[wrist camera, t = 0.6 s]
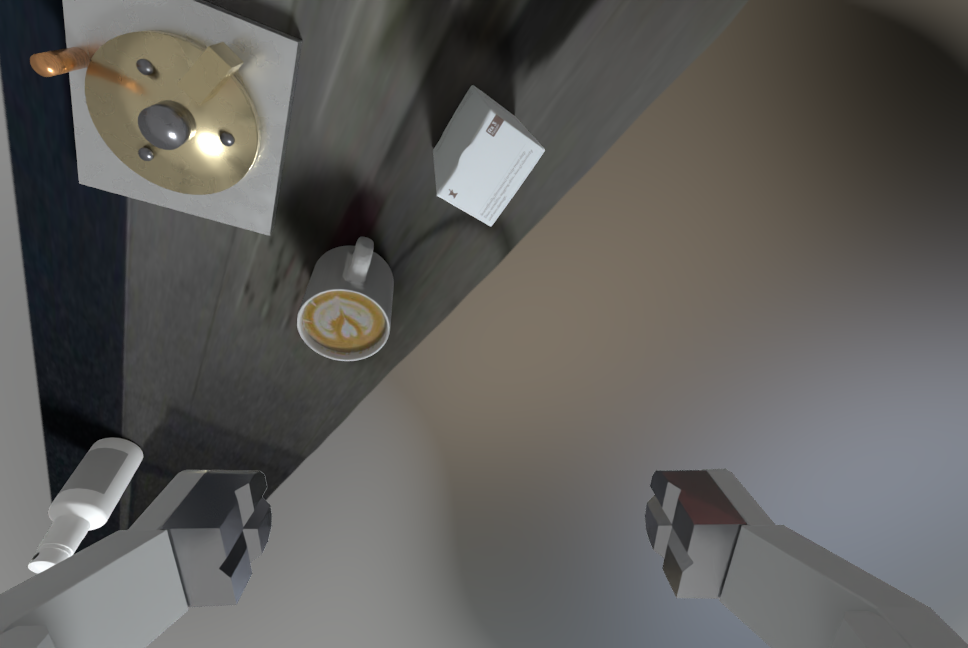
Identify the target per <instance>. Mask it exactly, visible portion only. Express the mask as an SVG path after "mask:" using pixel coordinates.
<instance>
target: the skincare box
mask: <svg viewBox="0 0 968 648" xmlns="http://www.w3.org/2000/svg"><path fill="white" fill-rule="evenodd" d="M544 151H545V149H544V148H543V146H542V145H541V144H540V143H539V142H538V141H537V139H536V138H535V137H534V136H532V134H531V133H530V132H529V131H528V130H527V129H526V128H525V127H524V126H523V124H522V123H521V122H520V121H519V120H518V119H517V118H516V117H515V116H514V115H513V114H511V113H510V112H509V111H507V110H506V109H505V108H503V107H502V106H501V105H499V104H498V103H497V102H495V101H494V100H493V99H491V98H490V97H489V96H487V95H486V94H485V93H483V92H482V91H481V90H479V89H478V88H477V87H475V86H474V85H472V86H471V87H470V88H469V90H468V91H467V93H466V95H465V96H464V98H463V100H462V101H461V103H460V105H459V106H458V108H457V110H456V111H455V113H454V115H453V116H452V118H451V120H450V122H449V123H448V125H447V127H446V128H445V130H444V132H443V134H442V136H441V138H440V140H439V142H438V143H437V145H436V146H435V148H434V149H433V157H434V167H435V178H436V190H437V196H438V197H440V198H442V199H444V200H446V201H447V202H449V203H450V204H452V205H454V206H456V207H457V208H459V209H461V210H463V211H464V212H466V213H468V214H470V215H471V216H473V217H475V218H477V219H478V220H480V221H482V222H484V223H485V224H487V225H489V226H492V225H493V224H494V222H495V221H496V220H497V218H498V217H499V215H500V214H501V213H502V211H503V210H504V209H505V207H506V206H507V204H508V203H509V202H510V200H511V199H512V197H513V196H514V195H515V193H516V192H517V190H518V189H519V188H520V186H521V185H522V183H523V182H524V180H525V179H526V178H527V176H528V175H529V173H530V172H531V170H532V169H533V168H534V166H535V165H536V163H537V162H538V160H539V159H540V157H541V156H542V154H543V153H544Z"/></svg>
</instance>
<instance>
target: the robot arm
mask: <svg viewBox="0 0 968 648" xmlns="http://www.w3.org/2000/svg"><path fill="white" fill-rule="evenodd" d="M650 487H651V489H652V490H653V492H654V494H655V495H654V497H652V498H651V499H650V500H649V501H648V502H647V505H646V511H645V523H646V531H647V535H648V538H649V541H650V543H651V546H652V548H653V550H654V551H655V552H657V553H658V554H660V555H661V556H662V557H663V558H664V563H663V567H662V569H663V571H664V573H665V575H666V577H667V579H668V581H669V584H670V586H671V588H672V590H673V592H674V594H675V596H676V598H711V599H712V598H713V599H715V598H716V599H720V602H721V603H722V604H723V605H725V606H726V607H727V608H728V609H729V610H730V611H731V612H732V613H733V614H735V615H736V616H737V617H738V618H739V619H740V620H741V621H742V622H743V623H744V624H746V625H747V626H748V627H749V628H750V629H751V630H752V631H753V632H754V633H755V634H757V635H758V636H759V637H760V638H761V639H762V640H763V641H764V642H765V643H766V644H768V645H769V646H770V647H771V648H968V644H967V643H966V642H964V640H963V639H962V638H961V637H960V636H959V635H958V634H957V633H956V632H954V631H953V630H952V629H951V628H950V627H949V626H948V625H947V624H946V623H945V622H944V621H943V620H942V619H941V618H940V617H939V616H938V615H937V614H936V613H935V612H934V611H933V610H932V609H931V608H930V607H928V606H926V605H924V604H922V603H921V602H919V601H917V600H915V599H914V598H912V597H910V596H908V595H907V594H905V593H903V592H901V591H899V590H898V589H896V588H894V587H892V586H891V585H889V584H887V583H885V582H883V581H882V580H880V579H878V578H876V577H874V576H873V575H871V574H869V573H867V572H866V571H864V570H862V569H860V568H858V567H857V566H855V565H853V564H851V563H850V562H848V561H846V560H844V559H843V558H841V557H839V556H837V555H835V554H833V553H832V552H830V551H828V550H827V549H825V548H823V547H821V546H819V545H818V544H816V543H814V542H812V541H811V540H809V539H807V538H805V537H803V536H802V535H800V534H798V533H796V532H795V531H793V530H791V529H789V528H787V527H786V526H784V525H775V524H774V522H773V521H772V520H771V519H770V518H769V517H768V515H767V514H766V513H765V512H764V511H763V509H762V508H761V507H760V506H759V505H758V504H757V502H756V501H755V500H754V499H753V497H752V496H751V495H750V494H749V493H748V491H747V490H746V489H745V488H744V487H743V486H742V484H741V483H740V482H739V481H738V479H737V478H736V477H735V476H734V475H733V473H732V472H730V471H728V470H727V469H703V470H673V471H672V470H666V471H665V470H659V471H655V472H654V474H653V476H652V480H651V484H650ZM266 489H267V483H266V478H265V474H264V473H262V472H261V471H242V470H185V471H182V472H180V473H178V474H177V475H176V476H175V477H174V479H173V480H172V481H171V482H170V483H169V484H168V485H167V486H166V488H165V489H164V490H163V491H162V492H161V493H160V494H159V496H158V497H157V498H156V499H155V500H154V501H153V502H152V503H151V505H150V506H149V507H148V508H147V509H146V510H145V511H144V512H143V514H142V515H141V516H140V517H139V518H138V519H137V520H136V521H135V523H134V524H133V525H132V526H131V527H130V528H129V529H128V530H119V531H117V532H115V533H113V534H111V535H110V536H108V537H106V538H104V539H102V540H100V541H98V542H97V543H95V544H93V545H91V546H89V547H87V548H85V549H84V550H82V551H80V552H78V553H76V554H74V555H72V556H71V557H69V558H67V559H65V560H63V561H61V562H59V563H57V564H56V565H54V566H52V567H50V568H48V569H46V570H44V571H43V572H41V573H39V574H37V575H35V576H33V577H31V578H30V579H28V580H26V581H24V582H22V583H21V584H18V585H17V586H15V587H13V588H11V589H9V590H7V591H5V592H4V593H2V594H0V648H145V647H147V646H148V645H149V644H150V643H151V642H152V641H153V640H155V639H156V638H157V637H158V636H159V635H160V634H162V633H163V632H164V631H165V630H166V629H167V628H168V627H169V626H170V625H172V624H173V623H174V622H175V621H176V620H177V619H178V618H180V617H181V616H182V615H183V614H184V613H185V612H187V611H188V607H202V606H222V605H236V604H237V603H238V601H239V599H240V597H241V595H242V593H243V591H244V589H245V587H246V585H247V583H248V581H249V579H250V577H251V575H252V569H251V564H250V563H251V562H252V561H253V560H255V559H256V558H257V557H259V556H260V555H261V554H262V553H263V551H264V549H265V547H266V544H267V542H268V539H269V534H270V531H271V526H272V525H271V524H272V513H271V506H270V504H269V503H268V502H267V501H266V500H265V499H264V498H263V497H262V496H263V494H264V492H265V491H266Z"/></svg>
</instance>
